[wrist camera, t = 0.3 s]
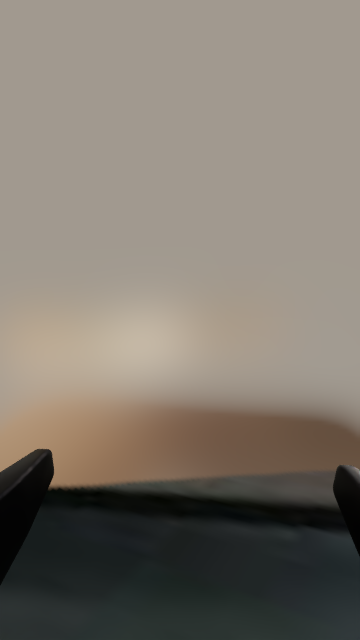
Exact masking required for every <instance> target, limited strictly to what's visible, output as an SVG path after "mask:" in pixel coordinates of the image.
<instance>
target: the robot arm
mask: <svg viewBox="0 0 360 640" xmlns="http://www.w3.org/2000/svg"><path fill="white" fill-rule="evenodd" d="M53 475H54V466H53V458H52V452H51V451H50V450H49V449H37V450H35V451H34V452H32V453H30V454H28V455H27V456H25V457H24V458H22V459H21V460H19V461H17V462H16V463H14V464H13V465H11V466H9V467H8V468H6V469H5V470H3V471H2V472H0V585H1V583H2V581H3V579H4V578H5V576H6V574H7V572H8V570H9V568H10V566H11V565H12V563H13V561H14V559H15V557H16V555H17V553H18V552H19V550H20V548H21V546H22V544H23V542H24V540H25V538H26V537H27V535H28V532H29V530H30V528H31V526H32V524H33V522H34V519H35V517H36V515H37V512H38V510H39V508H40V506H41V503H42V501H43V499H44V497H45V494H46V492H47V490H48V487H49V485H50V483H51V480H52V478H53ZM333 492H334V495H335V498H336V500H337V503H338V505H339V508H340V510H341V512H342V515H343V517H344V520H345V522H346V525H347V527H348V530H349V532H350V535H351V537H352V539H353V542H354V544H355V547H356V549H357V551H358V554H359V556H360V470H359V469H357V468H356V467H354V466H350V465H339V466H338V467H337V470H336V474H335V479H334V484H333Z"/></svg>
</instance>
